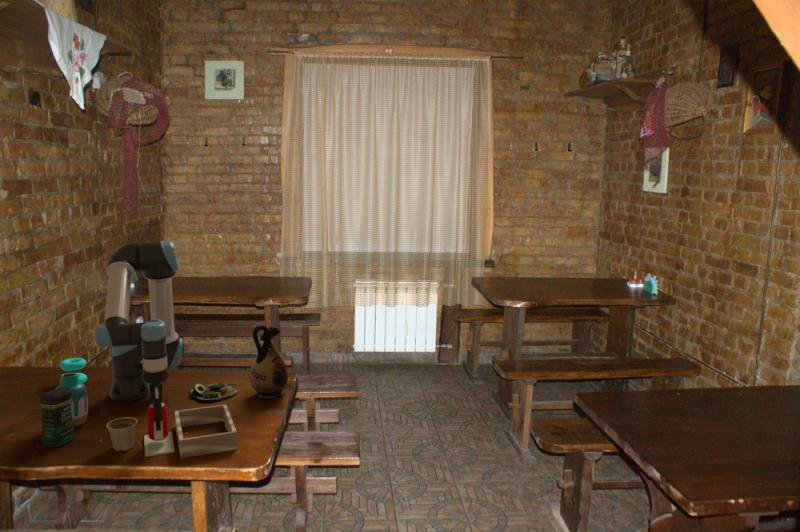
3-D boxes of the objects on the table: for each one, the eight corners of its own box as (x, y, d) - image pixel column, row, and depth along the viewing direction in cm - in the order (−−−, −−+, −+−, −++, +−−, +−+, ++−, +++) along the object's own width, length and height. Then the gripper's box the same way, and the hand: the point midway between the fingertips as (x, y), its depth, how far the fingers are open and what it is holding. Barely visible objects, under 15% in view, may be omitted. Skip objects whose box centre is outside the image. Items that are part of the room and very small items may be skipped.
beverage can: (167, 441, 206) (166, 407, 204) (147, 443, 205) (146, 409, 203) (169, 433, 212) (167, 400, 210) (149, 435, 210) (147, 402, 208)
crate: (175, 426, 223) (174, 410, 222) (226, 419, 230) (226, 404, 229) (180, 458, 199) (179, 440, 198) (237, 449, 206) (236, 432, 205)
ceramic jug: (274, 385, 266) (273, 317, 261) (295, 395, 255) (294, 324, 250) (239, 395, 254) (237, 324, 249) (259, 405, 243) (258, 332, 238)
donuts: (89, 361, 263) (63, 365, 256) (90, 383, 264) (65, 388, 258) (82, 355, 270) (56, 360, 263) (83, 377, 272) (58, 382, 265)
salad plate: (226, 382, 269) (226, 372, 268) (247, 394, 256) (247, 383, 256) (184, 393, 256) (183, 382, 255) (204, 406, 243) (203, 394, 242)
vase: (55, 434, 215) (51, 381, 212) (56, 422, 224) (52, 372, 221) (89, 428, 220) (85, 377, 217) (88, 417, 229) (85, 368, 226)
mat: (144, 436, 214) (144, 435, 214) (171, 432, 218) (171, 431, 218) (145, 457, 200) (144, 455, 200) (174, 452, 203) (174, 450, 203)
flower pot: (127, 455, 201) (125, 430, 199) (101, 452, 203) (100, 427, 201) (144, 442, 210) (143, 418, 208) (120, 439, 212) (118, 416, 210)
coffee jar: (58, 449, 204) (54, 396, 201) (38, 446, 206) (33, 393, 203) (79, 437, 213) (76, 386, 210) (60, 434, 215) (56, 383, 212)
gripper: (142, 361, 212) (145, 425, 215) (143, 379, 194) (147, 448, 198) (165, 359, 215) (168, 421, 218) (168, 376, 197) (171, 444, 201)
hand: (158, 434), depth 208 cm, fingers closed on beverage can, 6 cm apart
